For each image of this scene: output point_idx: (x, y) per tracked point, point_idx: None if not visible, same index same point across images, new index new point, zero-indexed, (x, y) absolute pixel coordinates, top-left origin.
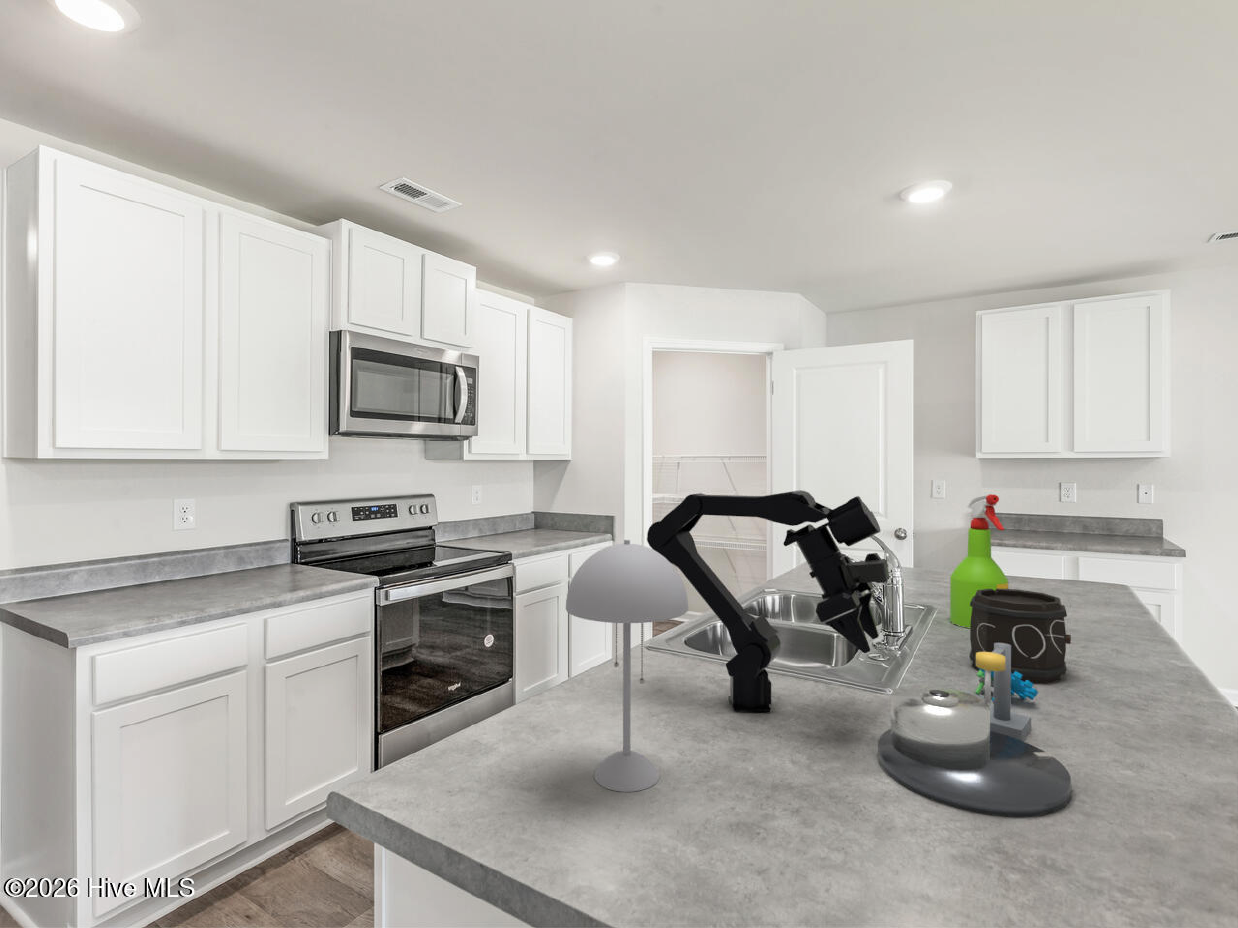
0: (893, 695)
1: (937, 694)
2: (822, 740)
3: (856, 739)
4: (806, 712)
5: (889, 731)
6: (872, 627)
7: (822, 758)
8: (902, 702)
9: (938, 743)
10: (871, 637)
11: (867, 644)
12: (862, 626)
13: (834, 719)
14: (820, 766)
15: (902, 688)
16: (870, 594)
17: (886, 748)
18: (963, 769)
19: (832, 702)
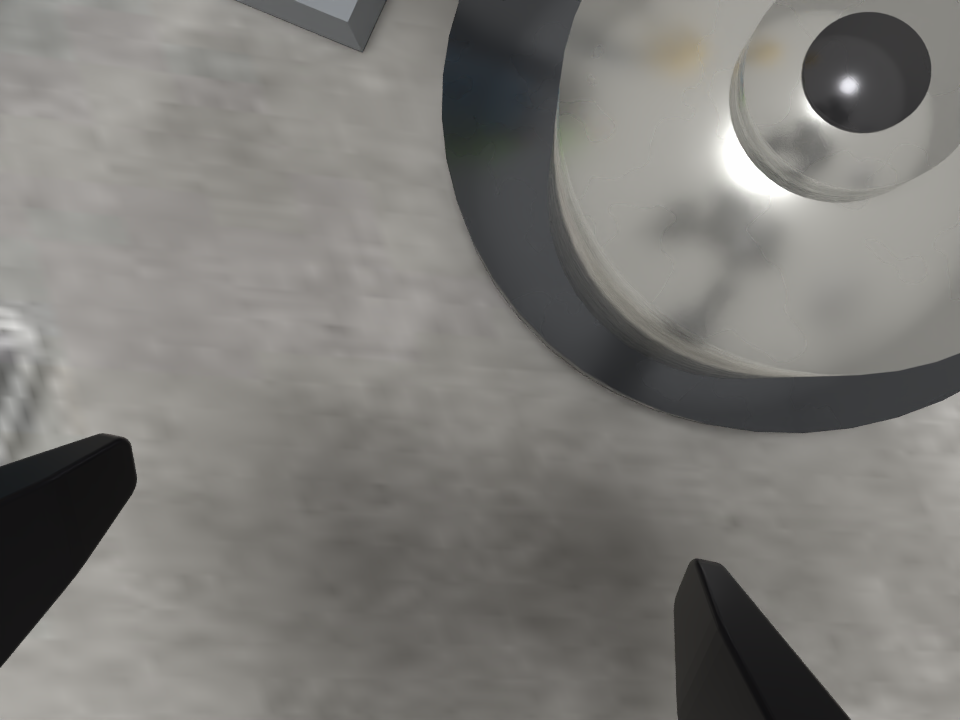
0: (836, 361)
1: (901, 85)
2: (658, 640)
3: (602, 503)
4: (371, 706)
5: (618, 376)
6: (39, 516)
7: (837, 643)
8: (955, 317)
9: None
10: (125, 502)
11: (766, 618)
12: (9, 635)
13: (414, 586)
14: (915, 652)
15: (672, 295)
16: None
17: (810, 402)
18: None
19: (216, 589)
